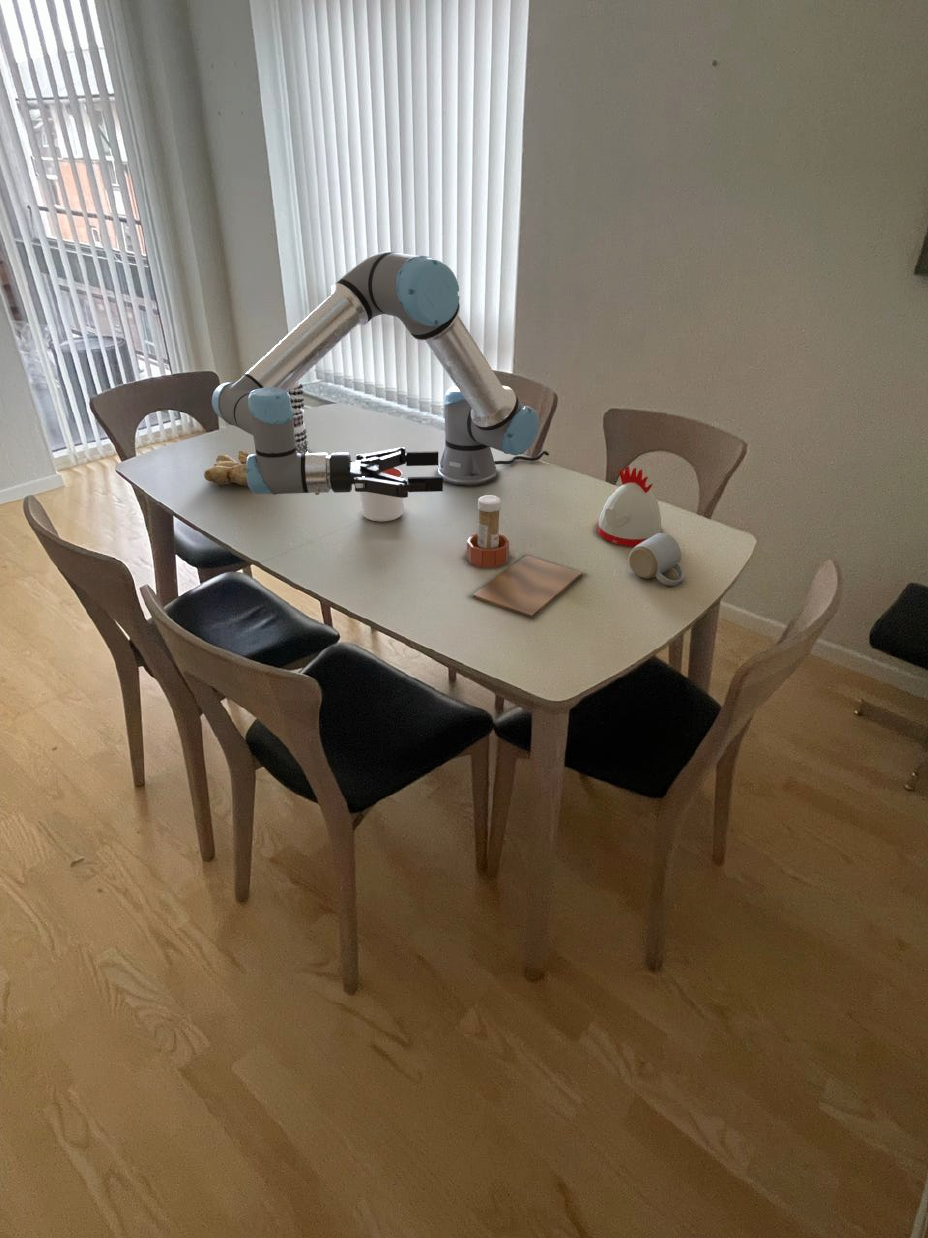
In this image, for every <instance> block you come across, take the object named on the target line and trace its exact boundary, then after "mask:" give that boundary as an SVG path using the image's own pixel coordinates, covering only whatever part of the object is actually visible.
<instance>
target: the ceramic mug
mask: <svg viewBox="0 0 928 1238" xmlns="http://www.w3.org/2000/svg"><path fill="white" fill-rule="evenodd" d="M681 560H682V549H681V547H680V545H679V543H678V541H677V540H676V539H675V537H673V536H672V535H670V534H669V533H666V532H661V533H657V534H655V535H654V536H652V537H650V538H648V539H647V540H645V541H643V542H642V543H640V544H638V545H637V546H633V548H632V549H631V550H630V552H629V555H628V562H629V566H630V568H631V570H632V572H633V573H634V574H635V575H636V576H638V577H640V578H642V579H653V578H656V579H657V580H658V581H659V582H660V583H662V584H663V585H666V586H669V587H674V586H677V585H679V584H680V583H681V582H682V581H683V579H684V576H685V572H684V570H683V568H682V566H681V564H680V563H681ZM673 569H674V570H675V571H676V573H677V575H678V579H676V580H673V579H669V578H667V577H666V576H665V575H663V574H664V573H666V572H668V571H671V570H673Z"/></svg>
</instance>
